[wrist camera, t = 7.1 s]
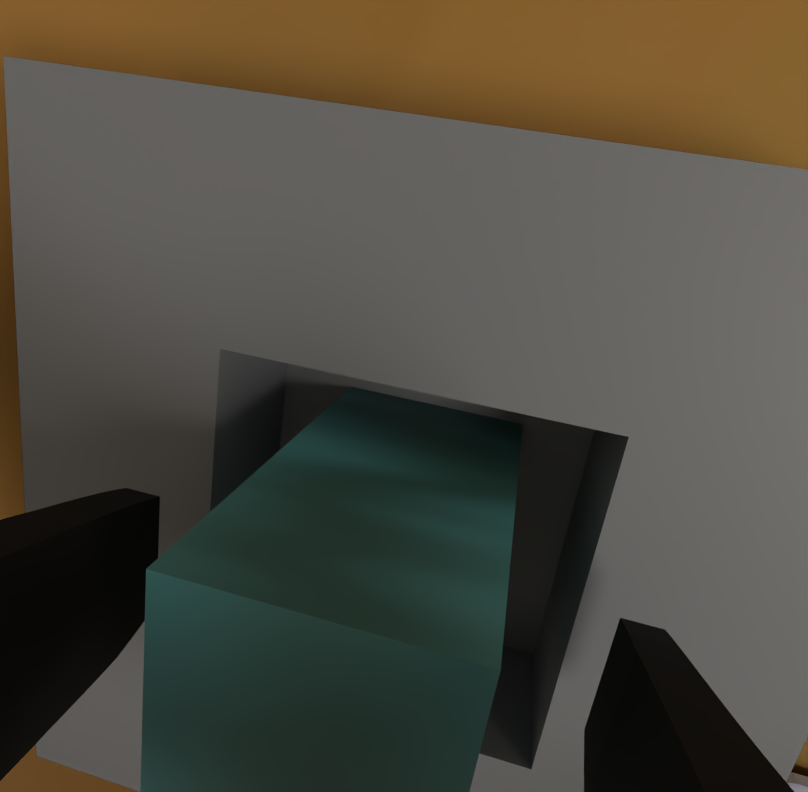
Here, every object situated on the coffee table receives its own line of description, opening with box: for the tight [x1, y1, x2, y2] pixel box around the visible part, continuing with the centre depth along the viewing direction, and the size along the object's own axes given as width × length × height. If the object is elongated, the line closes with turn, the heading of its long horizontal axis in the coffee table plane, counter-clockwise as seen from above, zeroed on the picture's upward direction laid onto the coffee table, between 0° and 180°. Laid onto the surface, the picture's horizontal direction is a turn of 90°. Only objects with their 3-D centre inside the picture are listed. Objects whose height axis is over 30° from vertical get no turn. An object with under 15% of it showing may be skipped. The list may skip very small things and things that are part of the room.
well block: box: [3, 56, 808, 792], centre depth 12 cm, size 14×14×4 cm
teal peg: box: [140, 387, 523, 792], centre depth 10 cm, size 4×4×7 cm
